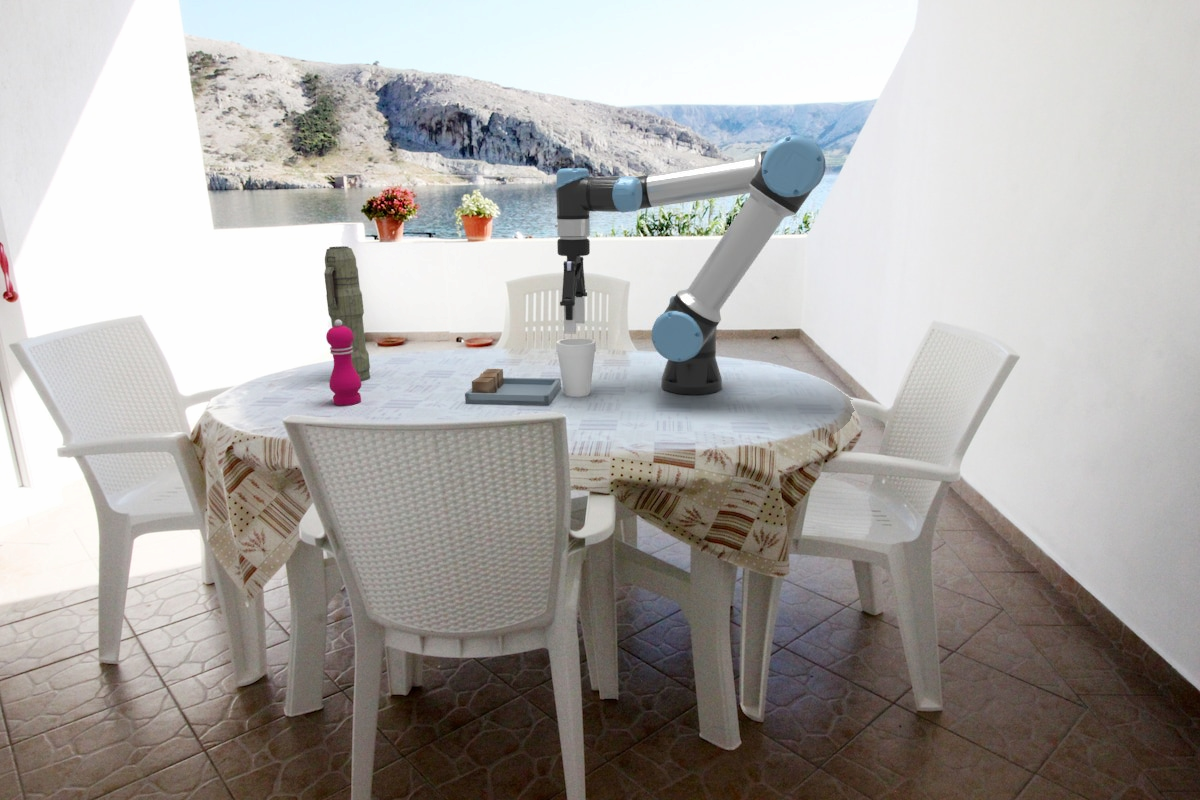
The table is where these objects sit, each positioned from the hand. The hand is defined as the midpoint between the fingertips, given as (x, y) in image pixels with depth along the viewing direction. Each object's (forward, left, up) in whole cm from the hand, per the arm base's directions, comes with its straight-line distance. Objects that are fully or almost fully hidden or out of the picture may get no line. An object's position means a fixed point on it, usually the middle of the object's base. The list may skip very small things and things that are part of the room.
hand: (574, 328), depth 172 cm
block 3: (+21, -1, -15) cm, 26 cm away
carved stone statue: (+63, -10, -17) cm, 66 cm away
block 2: (+21, +3, -15) cm, 26 cm away
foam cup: (0, 0, -17) cm, 17 cm away
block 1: (+21, +8, -15) cm, 27 cm away
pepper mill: (+54, +12, -17) cm, 57 cm away
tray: (+15, +3, -16) cm, 22 cm away
